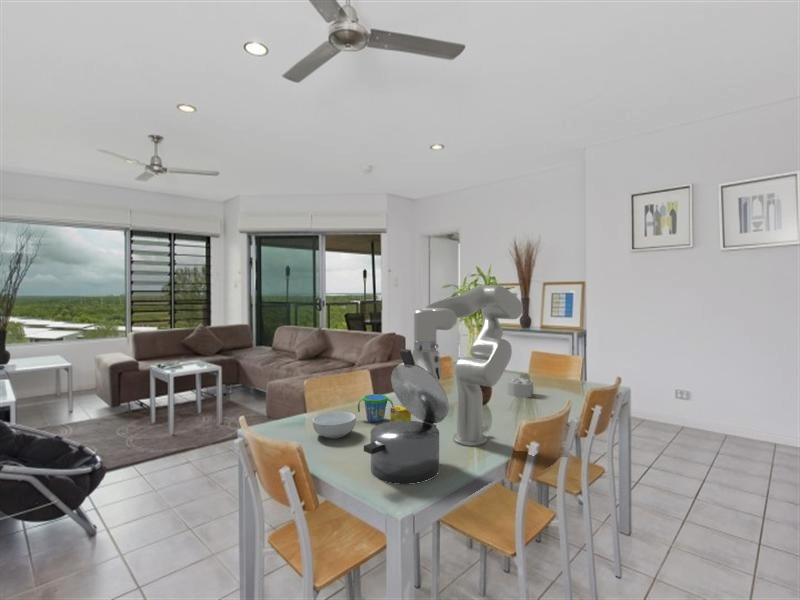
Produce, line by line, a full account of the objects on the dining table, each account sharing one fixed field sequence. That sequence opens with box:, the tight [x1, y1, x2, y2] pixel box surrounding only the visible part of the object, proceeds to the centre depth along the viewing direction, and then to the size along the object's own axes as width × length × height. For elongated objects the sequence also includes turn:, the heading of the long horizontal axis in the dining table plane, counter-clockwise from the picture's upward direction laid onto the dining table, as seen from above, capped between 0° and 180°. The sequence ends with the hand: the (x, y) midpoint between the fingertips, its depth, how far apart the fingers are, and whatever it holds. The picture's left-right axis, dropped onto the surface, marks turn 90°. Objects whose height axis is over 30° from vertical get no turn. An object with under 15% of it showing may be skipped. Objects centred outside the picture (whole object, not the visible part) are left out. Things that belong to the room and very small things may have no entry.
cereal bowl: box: [312, 411, 357, 440], centre depth 165 cm, size 17×17×7 cm
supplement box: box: [389, 404, 412, 422], centre depth 165 cm, size 6×6×11 cm
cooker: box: [363, 420, 440, 485], centre depth 134 cm, size 29×22×12 cm
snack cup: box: [357, 393, 394, 423], centre depth 184 cm, size 16×10×10 cm
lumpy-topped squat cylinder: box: [507, 377, 534, 399], centre depth 227 cm, size 10×13×9 cm
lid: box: [390, 348, 450, 424], centre depth 139 cm, size 29×23×3 cm
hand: (425, 400), depth 142 cm, fingers closed
